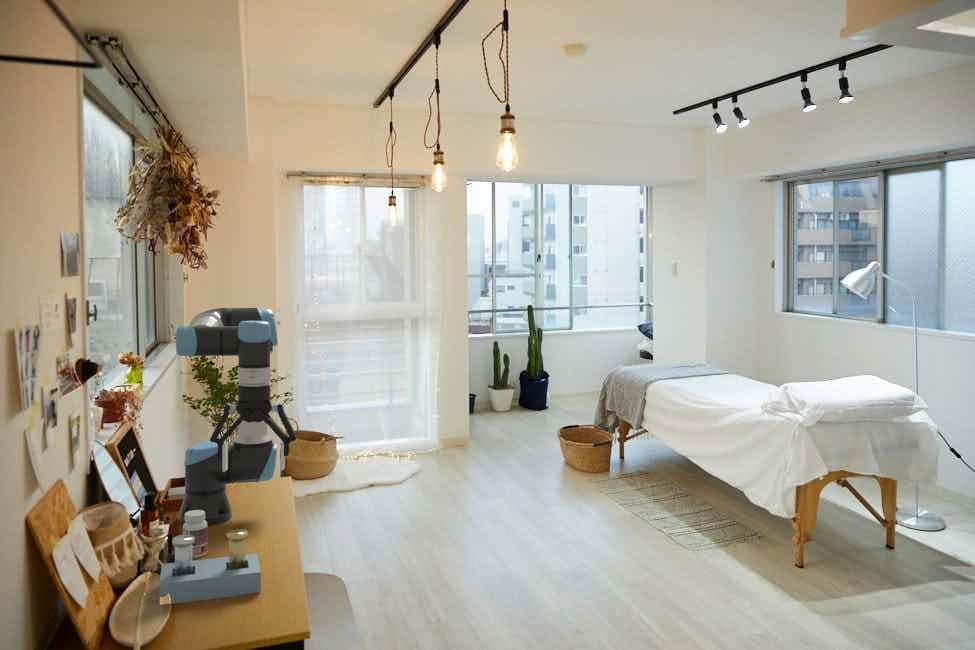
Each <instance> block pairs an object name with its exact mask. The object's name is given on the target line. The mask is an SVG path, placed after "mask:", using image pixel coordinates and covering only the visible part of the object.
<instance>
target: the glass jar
mask: <svg viewBox="0 0 975 650" xmlns="http://www.w3.org/2000/svg"><path fill="white" fill-rule="evenodd" d="M248 536H249V531H248V530H247V529H244V528H243V529H241V528H240V529H232V530H229V531H227V533H226V539H227V540H228V557H229V569H231V570H234V569H242V568H245V567H246V555H247V554H246V552H247V551H246V547H247V545H246V543H247V542H246V539H247V538H248Z"/></svg>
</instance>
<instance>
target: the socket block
mask: <svg viewBox="0 0 975 650" xmlns="http://www.w3.org/2000/svg"><path fill="white" fill-rule="evenodd" d="M261 572H262V571H261V567H260V561H259V556H258V553H251V554H246V567H245V568H242V569H234V570H231V569H229V556H224V557H216V558H215V557H214V558H205V559H197V560H192V574H190V575H182V576H176V575H175V562H169V563H161V568H160V576H159V582H158V592H159V593H158V595H159V596H158V598H159V597H164V596H166V595H167V594H168V593H169V595H170V598H171V602H172V604H171V605H175V604H181V603H190V602H198V601H204V600H205V601H206V600H212V599H213V600H214V599H221V598H229V597H230V598H231V597H236V596H237V597H238V596H245V595H252V594H258V593H259V594H260V593H261V588H262V587H261V585H262V584H261V582H262V574H261Z"/></svg>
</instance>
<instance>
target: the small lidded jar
mask: <svg viewBox="0 0 975 650" xmlns="http://www.w3.org/2000/svg"><path fill="white" fill-rule="evenodd" d="M194 542H195V537H194V536H193V535H183V534H179V535H176V536H175V537H173V538H172V545H173V546H174V563H175V575H176V576H182V575H190V574H192V561H193V558H192V543H194Z"/></svg>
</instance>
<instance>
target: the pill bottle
mask: <svg viewBox="0 0 975 650" xmlns="http://www.w3.org/2000/svg"><path fill="white" fill-rule="evenodd" d="M184 520H185V521H186V522H185V523H184V524H182V535H193V536H194V537H195V542H194V543H192V559H196V558H200V557H203V556H205V555H207V554H208V547H209V546H208V539H209V538H208V525H207V522H206V521H205V511H203V510H192V511H188V512H186V513H185V518H184Z"/></svg>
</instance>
